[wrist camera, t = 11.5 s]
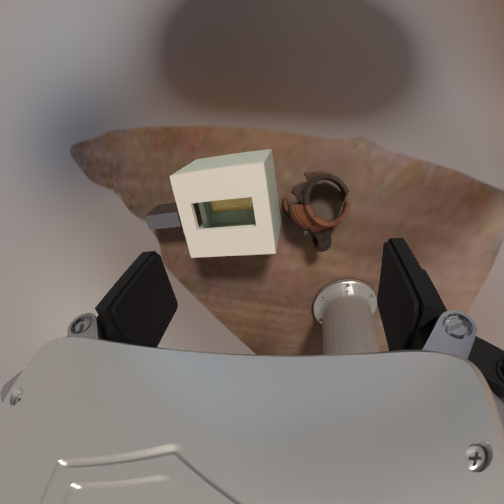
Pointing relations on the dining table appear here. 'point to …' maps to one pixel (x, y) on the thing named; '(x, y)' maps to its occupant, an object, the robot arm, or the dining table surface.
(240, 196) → the cream slotted box
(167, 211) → the block
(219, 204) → the block
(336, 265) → the dining table surface
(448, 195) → the dining table surface
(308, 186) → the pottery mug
